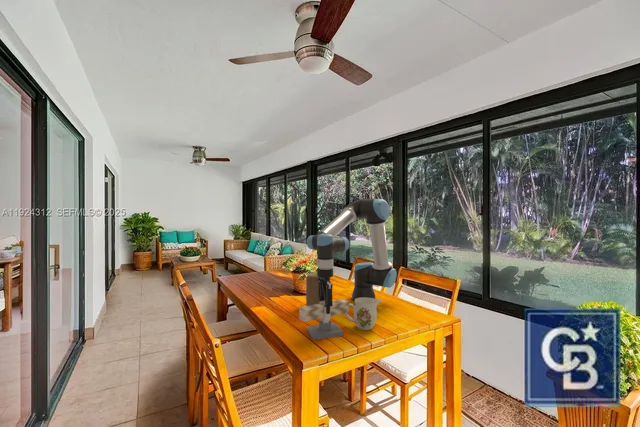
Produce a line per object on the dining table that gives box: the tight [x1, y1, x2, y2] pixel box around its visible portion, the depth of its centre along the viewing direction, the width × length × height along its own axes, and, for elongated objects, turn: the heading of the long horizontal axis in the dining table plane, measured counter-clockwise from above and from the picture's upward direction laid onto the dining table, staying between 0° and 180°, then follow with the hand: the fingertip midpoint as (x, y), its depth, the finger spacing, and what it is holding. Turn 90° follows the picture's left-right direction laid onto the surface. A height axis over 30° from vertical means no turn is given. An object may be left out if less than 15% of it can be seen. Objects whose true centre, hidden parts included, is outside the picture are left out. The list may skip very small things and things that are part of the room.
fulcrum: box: [307, 318, 344, 341], centre depth 136 cm, size 14×10×8 cm
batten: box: [298, 298, 350, 323], centre depth 136 cm, size 24×4×5 cm, turn 120°
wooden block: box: [305, 272, 325, 306], centre depth 169 cm, size 10×10×20 cm
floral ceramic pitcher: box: [344, 297, 383, 331], centre depth 143 cm, size 11×18×14 cm, turn 76°
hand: (324, 317), depth 136 cm, fingers open, 6 cm apart
